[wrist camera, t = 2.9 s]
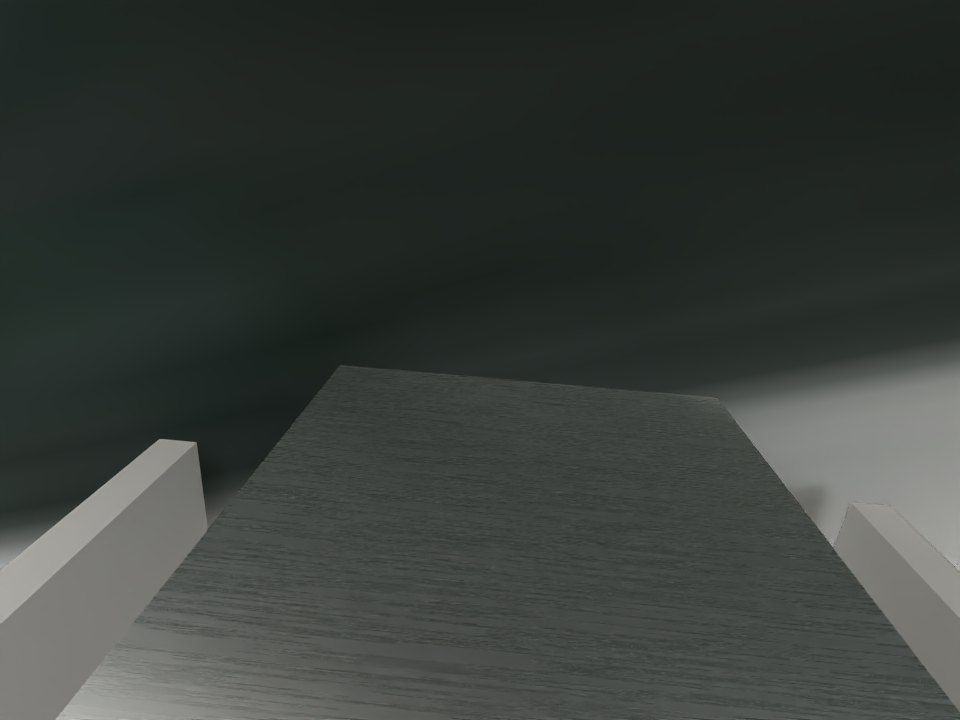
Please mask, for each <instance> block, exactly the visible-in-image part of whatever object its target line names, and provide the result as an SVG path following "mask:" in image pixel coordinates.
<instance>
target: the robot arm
mask: <svg viewBox="0 0 960 720" xmlns="http://www.w3.org/2000/svg"><path fill="white" fill-rule="evenodd" d="M207 530H208V525H207V518H206V510H205V502H204V495H203V487H202V480H201V472H200V464H199V457H198V449H197V442H189V441H178V440H167V439H159V440H158V441H157V442H155V443H154V444H153V445H152V446H150V447H149V448H148V449H147V450H146V451H144V452H143V453H142V454H141V455H140V456H138V457H137V458H136V459H135V460H133V461H132V462H131V463H130V464H129V465H127V466H126V467H125V468H124V469H122V470H121V471H120V472H119V473H118V474H116V475H115V476H114V477H113V478H112V479H110V480H109V481H108V482H107V483H105V484H104V485H103V486H102V487H101V488H99V489H98V490H97V491H96V492H95V493H93V494H92V495H91V496H90V497H88V498H87V499H86V500H85V501H84V502H82V503H81V504H80V505H79V506H77V507H76V508H75V509H74V510H73V511H71V512H70V513H69V514H68V515H67V516H65V517H64V518H63V519H62V520H60V521H59V522H58V523H57V524H56V525H54V526H53V527H52V528H51V529H50V530H48V531H47V532H46V533H45V534H43V535H42V536H41V537H40V538H39V539H37V540H36V541H35V542H34V543H32V544H31V545H30V546H29V547H28V548H26V549H25V550H24V551H23V552H22V553H20V554H19V555H18V556H17V557H15V558H14V559H13V560H12V561H11V562H9V563H8V564H7V565H6V566H5V567H3V568H2V569H1V570H0V720H55V719H56V718H57V717H58V716H59V714H60V713H61V712H62V711H63V709H64V708H65V707H66V706H67V704H68V703H69V702H70V701H71V699H72V698H73V697H74V696H75V694H76V693H77V692H78V691H79V689H80V688H81V687H82V686H83V685H84V683H85V682H86V681H87V680H88V678H89V677H90V676H91V675H92V673H93V672H94V671H95V670H96V668H97V667H98V666H99V665H100V663H101V662H102V661H103V660H104V658H105V657H106V656H107V655H108V653H109V652H110V651H111V650H112V648H113V647H114V646H115V645H116V643H117V642H118V641H119V640H120V638H121V637H122V636H123V635H124V634H125V632H126V631H127V630H128V629H129V627H130V626H131V625H132V624H133V622H134V621H135V620H136V619H137V617H138V616H139V615H140V614H141V612H142V611H143V610H144V609H145V607H146V606H147V605H148V604H149V602H150V601H151V600H152V599H153V597H154V596H155V595H156V594H157V592H158V591H159V590H160V589H161V587H162V586H163V585H164V584H165V582H166V581H167V580H168V579H169V578H170V576H171V575H172V574H173V573H174V571H175V570H176V569H177V568H178V566H179V565H180V564H181V563H182V561H183V560H184V559H185V558H186V556H187V555H188V554H189V553H190V551H191V550H192V549H193V548H194V546H195V545H196V544H197V543H198V541H199V540H200V539H201V538H202V536H203V535H204V534H205V533H206V531H207ZM834 550H835V551H836V552H837V554H838V555H839V556H840V558H841V559H842V560H843V562H844V563H845V564H846V565H847V567H848V568H849V569H850V571H851V572H852V573H853V574H854V576H855V577H856V578H857V580H858V581H859V582H860V584H861V585H862V586H863V587H864V589H865V590H866V591H867V593H868V594H869V595H870V596H871V598H872V599H873V600H874V602H875V603H876V604H877V606H878V607H879V608H880V609H881V611H882V612H883V613H884V615H885V616H886V617H887V618H888V620H889V621H890V622H891V624H892V625H893V626H894V628H895V629H896V630H897V631H898V633H899V634H900V635H901V637H902V638H903V639H904V640H905V642H906V643H907V644H908V646H909V647H910V648H911V650H912V651H913V652H914V653H915V655H916V656H917V657H918V659H919V660H920V661H921V662H922V664H923V665H924V666H925V668H926V669H927V670H928V672H929V673H930V674H931V675H932V677H933V678H934V679H935V681H936V682H937V683H938V684H939V686H940V687H941V688H942V690H943V691H944V692H945V694H946V695H947V696H948V697H949V699H950V700H951V701H952V703H953V704H954V705H955V706H956V708H957V709H958V710H959V712H960V572H959V571H958V570H957V569H956V568H955V567H954V566H953V565H952V564H951V563H950V562H949V561H948V560H947V559H946V558H945V557H944V556H943V555H942V554H940V553H939V552H938V551H937V550H936V549H935V548H934V547H933V546H932V545H931V544H930V543H929V542H928V541H927V540H926V539H925V538H924V537H923V536H922V535H921V534H920V533H919V532H918V531H917V530H916V529H914V528H913V527H912V526H911V525H910V524H909V523H908V522H907V521H906V520H905V519H904V518H903V517H902V516H901V515H900V514H899V513H898V512H897V511H896V510H895V509H894V508H893V507H892V506H891V505H880V504H869V503H858V502H850V505H849V508H848V511H847V513H846V516H845V519H844V521H843V524H842V527H841V530H840V532H839V535H838V538H837V541H836V543H835V546H834Z"/></svg>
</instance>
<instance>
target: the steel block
mask: <svg viewBox="0 0 960 720" xmlns="http://www.w3.org/2000/svg"><path fill="white" fill-rule="evenodd" d="M55 720H960V712H959V710H958V709H957V708H956V706H955V705H954V704H953V703H952V701H951V700H950V699H949V697H948V696H947V695H946V694H945V692H944V691H943V690H942V688H941V687H940V686H939V684H938V683H937V682H936V681H935V679H934V678H933V677H932V675H931V674H930V673H929V672H928V670H927V669H926V668H925V666H924V665H923V664H922V662H921V661H920V660H919V659H918V657H917V656H916V655H915V653H914V652H913V651H912V650H911V648H910V647H909V646H908V644H907V643H906V642H905V640H904V639H903V638H902V637H901V635H900V634H899V633H898V631H897V630H896V629H895V628H894V626H893V625H892V624H891V622H890V621H889V620H888V618H887V617H886V616H885V615H884V613H883V612H882V611H881V609H880V608H879V607H878V606H877V604H876V603H875V602H874V600H873V599H872V598H871V596H870V595H869V594H868V593H867V591H866V590H865V589H864V587H863V586H862V585H861V584H860V582H859V581H858V580H857V578H856V577H855V576H854V574H853V573H852V572H851V571H850V569H849V568H848V567H847V565H846V564H845V563H844V562H843V560H842V559H841V558H840V556H839V555H838V554H837V552H836V551H835V550H834V549H833V547H832V546H831V545H830V543H829V542H828V541H827V540H826V538H825V537H824V536H823V534H822V533H821V532H820V530H819V529H818V528H817V527H816V525H815V524H814V523H813V521H812V520H811V519H810V517H809V516H808V515H807V514H806V512H805V511H804V510H803V508H802V507H801V506H800V505H799V503H798V502H797V501H796V499H795V498H794V497H793V495H792V494H791V493H790V492H789V490H788V489H787V488H786V486H785V485H784V484H783V483H782V481H781V480H780V479H779V477H778V476H777V475H776V473H775V472H774V471H773V470H772V468H771V467H770V466H769V464H768V463H767V462H766V461H765V459H764V458H763V457H762V455H761V454H760V453H759V451H758V450H757V449H756V448H755V446H754V445H753V444H752V442H751V441H750V440H749V439H748V437H747V436H746V435H745V433H744V432H743V431H742V429H741V428H740V427H739V426H738V424H737V423H736V422H735V420H734V419H733V418H732V417H731V415H730V414H729V413H728V411H727V410H726V409H725V407H724V406H723V405H722V404H721V402H720V401H719V400H718V398H716V397H705V396H693V395H682V394H670V393H659V392H647V391H636V390H624V389H613V388H601V387H590V386H578V385H567V384H555V383H544V382H532V381H521V380H509V379H498V378H486V377H475V376H463V375H452V374H440V373H429V372H417V371H406V370H394V369H383V368H371V367H360V366H348V365H340V366H339V367H338V368H337V370H336V371H335V372H334V373H333V375H332V376H331V377H330V378H329V380H328V381H327V382H326V383H325V385H324V386H323V387H322V388H321V390H320V391H319V392H318V393H317V395H316V396H315V397H314V398H313V400H312V401H311V402H310V403H309V405H308V406H307V407H306V408H305V410H304V411H303V412H302V413H301V415H300V416H299V417H298V418H297V419H296V421H295V422H294V423H293V424H292V426H291V427H290V428H289V429H288V431H287V432H286V433H285V434H284V436H283V437H282V438H281V439H280V441H279V442H278V443H277V444H276V446H275V447H274V448H273V449H272V451H271V452H270V453H269V454H268V456H267V457H266V458H265V459H264V461H263V462H262V463H261V464H260V466H259V467H258V468H257V469H256V471H255V472H254V473H253V474H252V475H251V477H250V478H249V479H248V480H247V482H246V483H245V484H244V485H243V487H242V488H241V489H240V490H239V492H238V493H237V494H236V495H235V497H234V498H233V499H232V500H231V502H230V503H229V504H228V505H227V507H226V508H225V509H224V510H223V512H222V513H221V514H220V515H219V517H218V518H217V519H216V520H215V522H214V523H213V524H212V525H211V526H210V528H209V529H208V530H207V531H206V533H205V534H204V535H203V536H202V538H201V539H200V540H199V541H198V543H197V544H196V545H195V546H194V548H193V549H192V550H191V551H190V553H189V554H188V555H187V556H186V558H185V559H184V560H183V561H182V563H181V564H180V565H179V566H178V568H177V569H176V570H175V571H174V573H173V574H172V575H171V576H170V578H169V579H168V580H167V581H166V582H165V584H164V585H163V586H162V587H161V589H160V590H159V591H158V592H157V594H156V595H155V596H154V597H153V599H152V600H151V601H150V602H149V604H148V605H147V606H146V607H145V609H144V610H143V611H142V612H141V614H140V615H139V616H138V617H137V619H136V620H135V621H134V622H133V624H132V625H131V626H130V627H129V629H128V630H127V631H126V632H125V634H124V635H123V636H122V637H121V638H120V640H119V641H118V642H117V643H116V645H115V646H114V647H113V648H112V650H111V651H110V652H109V653H108V655H107V656H106V657H105V658H104V660H103V661H102V662H101V663H100V665H99V666H98V667H97V668H96V670H95V671H94V672H93V673H92V675H91V676H90V677H89V678H88V680H87V681H86V682H85V683H84V685H83V686H82V687H81V688H80V689H79V691H78V692H77V693H76V694H75V696H74V697H73V698H72V699H71V701H70V702H69V703H68V704H67V706H66V707H65V708H64V709H63V711H62V712H61V713H60V714H59V716H58V717H57V718H56V719H55Z"/></svg>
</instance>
